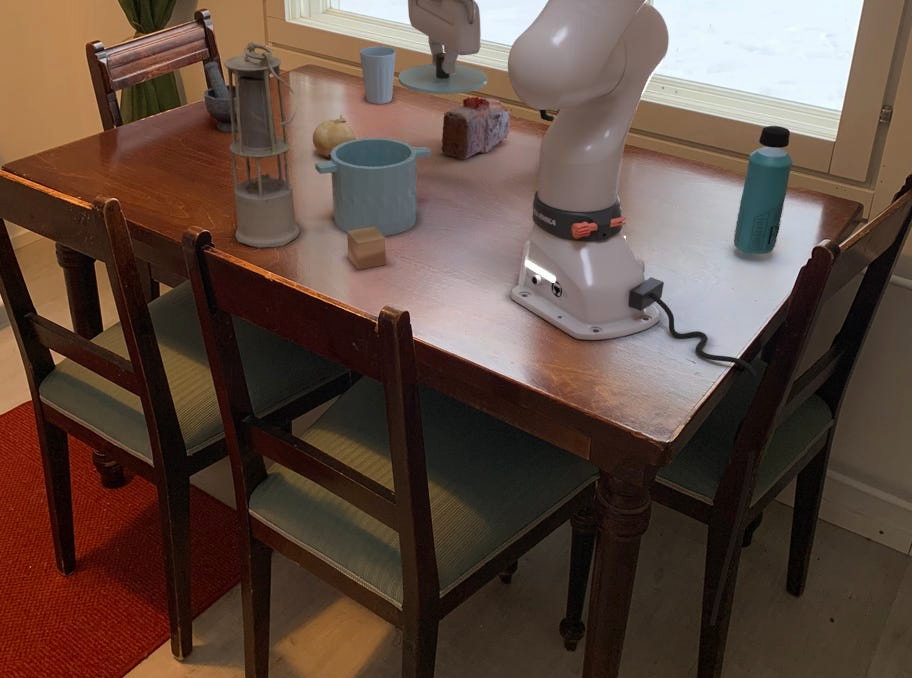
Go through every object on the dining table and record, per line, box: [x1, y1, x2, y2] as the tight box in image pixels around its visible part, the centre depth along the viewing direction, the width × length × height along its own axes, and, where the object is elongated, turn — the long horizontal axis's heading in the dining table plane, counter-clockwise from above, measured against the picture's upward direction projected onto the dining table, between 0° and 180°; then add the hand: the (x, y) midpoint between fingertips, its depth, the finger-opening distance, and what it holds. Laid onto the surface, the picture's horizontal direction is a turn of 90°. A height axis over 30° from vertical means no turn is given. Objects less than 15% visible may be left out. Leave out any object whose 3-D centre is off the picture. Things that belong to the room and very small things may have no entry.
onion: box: [312, 114, 356, 159], centre depth 190 cm, size 8×8×7 cm
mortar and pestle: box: [203, 61, 242, 132], centre depth 201 cm, size 11×9×12 cm
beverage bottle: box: [733, 125, 793, 255], centre depth 151 cm, size 6×7×20 cm
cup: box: [359, 45, 397, 105], centre depth 216 cm, size 8×8×10 cm
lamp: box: [223, 41, 301, 249], centre depth 153 cm, size 10×13×30 cm
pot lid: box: [398, 52, 489, 95], centre depth 165 cm, size 15×15×5 cm
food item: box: [440, 96, 511, 161], centre depth 192 cm, size 14×8×10 cm, turn 142°
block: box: [346, 227, 387, 271], centre depth 153 cm, size 4×4×4 cm
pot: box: [314, 137, 432, 237], centre depth 164 cm, size 14×19×12 cm
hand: (443, 69), depth 165 cm, fingers closed on pot lid, 2 cm apart
